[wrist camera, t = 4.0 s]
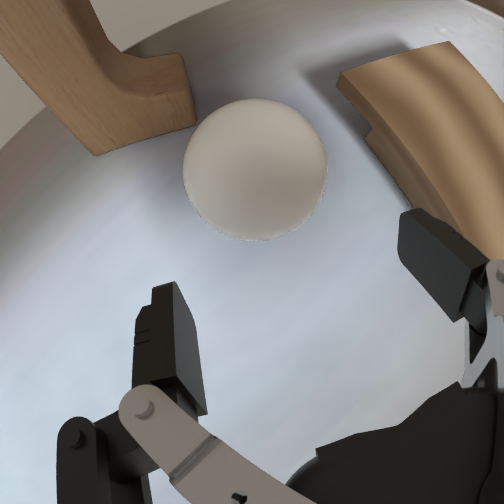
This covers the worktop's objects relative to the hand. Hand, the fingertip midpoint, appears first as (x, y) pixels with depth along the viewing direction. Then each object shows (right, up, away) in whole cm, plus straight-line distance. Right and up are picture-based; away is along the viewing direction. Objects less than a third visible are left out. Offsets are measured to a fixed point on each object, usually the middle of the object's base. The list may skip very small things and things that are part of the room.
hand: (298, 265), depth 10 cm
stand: (+14, +8, +12) cm, 20 cm away
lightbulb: (-1, +3, +11) cm, 12 cm away
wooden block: (-11, +11, +13) cm, 20 cm away
